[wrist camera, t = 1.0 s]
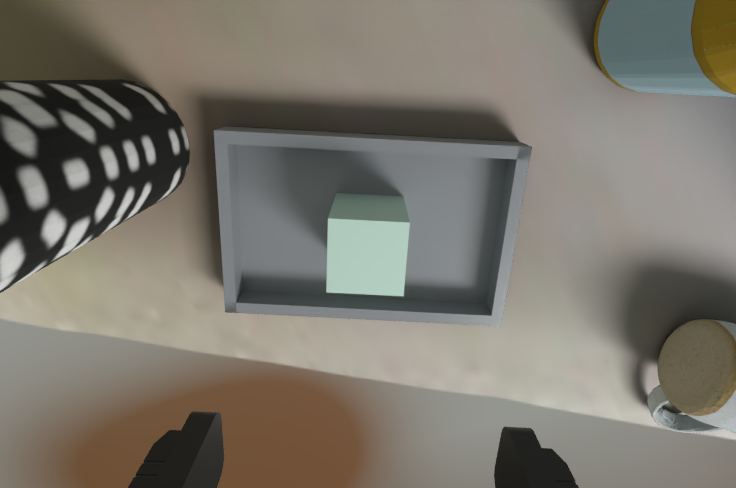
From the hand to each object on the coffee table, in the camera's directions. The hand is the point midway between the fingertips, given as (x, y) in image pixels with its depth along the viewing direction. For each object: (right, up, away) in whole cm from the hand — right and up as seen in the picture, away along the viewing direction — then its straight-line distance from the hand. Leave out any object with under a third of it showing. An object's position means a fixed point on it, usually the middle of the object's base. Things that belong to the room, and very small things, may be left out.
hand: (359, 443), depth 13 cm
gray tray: (0, +7, +20) cm, 21 cm away
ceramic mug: (+27, -4, +24) cm, 36 cm away
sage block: (0, +7, +19) cm, 20 cm away
